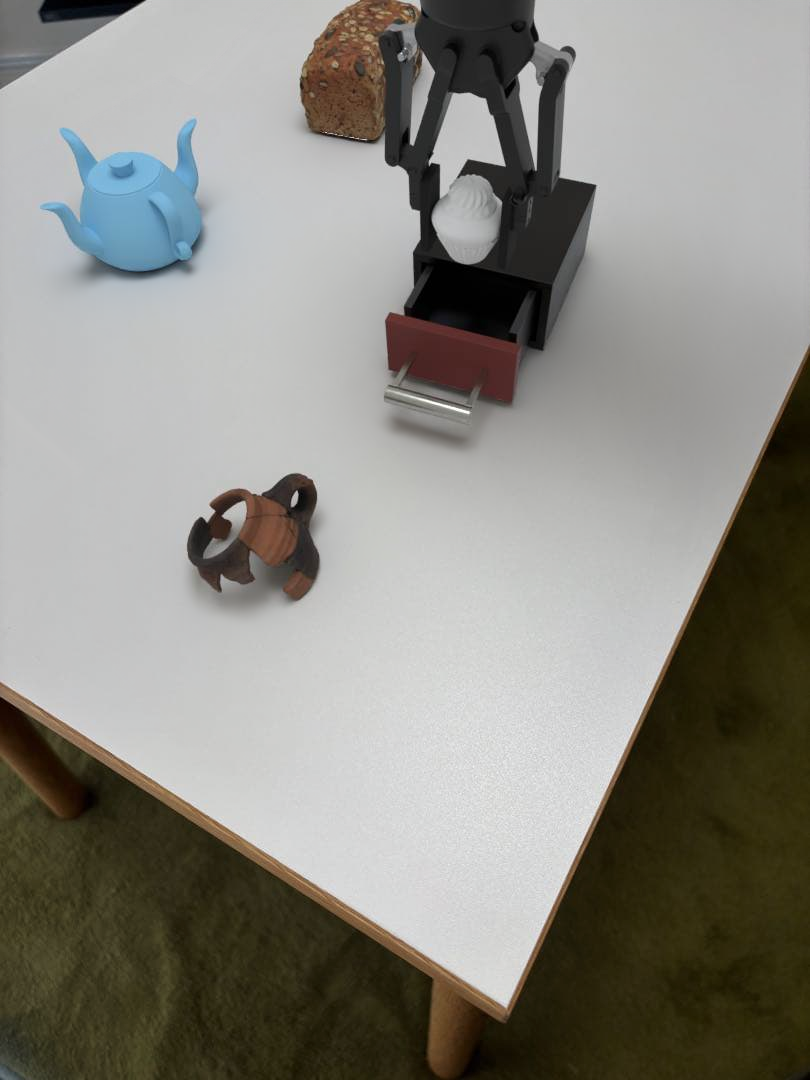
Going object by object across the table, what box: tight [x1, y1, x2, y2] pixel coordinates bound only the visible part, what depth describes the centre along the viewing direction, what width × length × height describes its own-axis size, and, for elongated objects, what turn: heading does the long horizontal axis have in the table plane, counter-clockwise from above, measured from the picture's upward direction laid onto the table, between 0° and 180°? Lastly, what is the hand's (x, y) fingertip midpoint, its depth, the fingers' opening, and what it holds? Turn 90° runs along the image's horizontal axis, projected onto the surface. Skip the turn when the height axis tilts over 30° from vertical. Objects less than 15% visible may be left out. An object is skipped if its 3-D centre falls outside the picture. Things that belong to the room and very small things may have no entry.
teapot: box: [39, 118, 203, 272], centre depth 89 cm, size 15×15×10 cm
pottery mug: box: [186, 472, 320, 601], centre depth 68 cm, size 12×9×8 cm
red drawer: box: [383, 263, 542, 426], centre depth 78 cm, size 21×13×6 cm, turn 158°
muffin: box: [432, 174, 502, 265], centre depth 67 cm, size 6×6×7 cm
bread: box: [298, 0, 424, 141], centre depth 103 cm, size 19×11×10 cm, turn 160°
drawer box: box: [412, 158, 597, 351], centre depth 84 cm, size 16×14×8 cm
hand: (467, 249), depth 70 cm, fingers closed on muffin, 6 cm apart
